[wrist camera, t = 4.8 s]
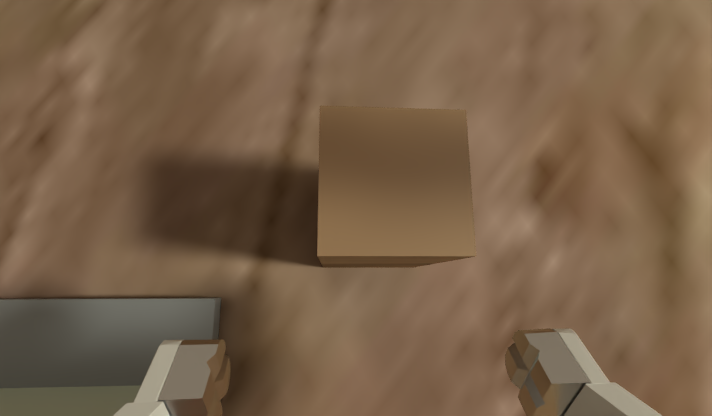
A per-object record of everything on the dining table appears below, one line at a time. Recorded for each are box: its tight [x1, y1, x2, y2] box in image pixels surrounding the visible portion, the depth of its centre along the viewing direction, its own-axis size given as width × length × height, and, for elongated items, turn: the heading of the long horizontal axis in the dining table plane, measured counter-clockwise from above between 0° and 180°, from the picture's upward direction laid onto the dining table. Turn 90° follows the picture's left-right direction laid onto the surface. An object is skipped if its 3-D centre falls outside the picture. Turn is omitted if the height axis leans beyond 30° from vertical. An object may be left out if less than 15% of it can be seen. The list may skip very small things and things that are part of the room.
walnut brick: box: [317, 106, 476, 267], centre depth 16 cm, size 5×5×9 cm
